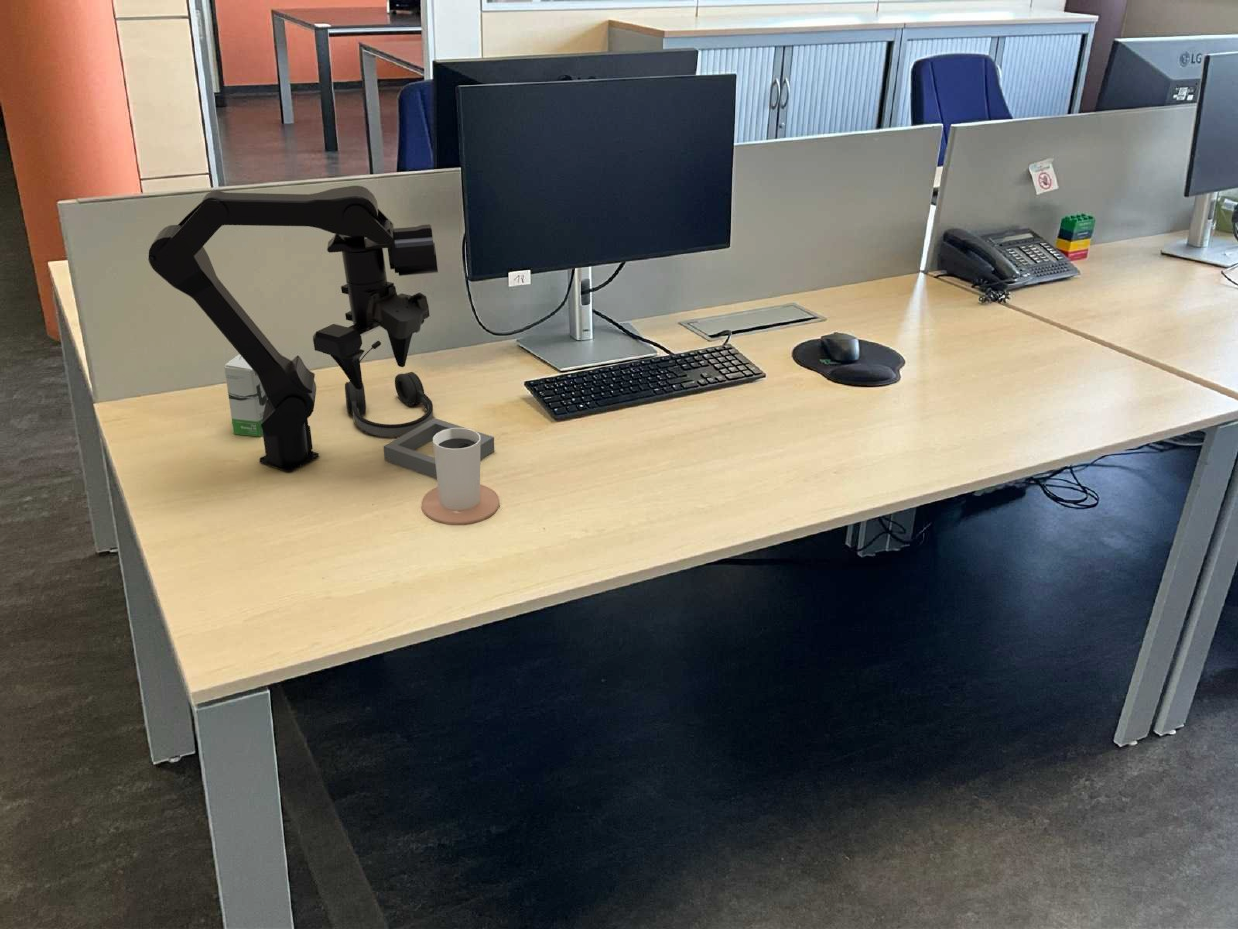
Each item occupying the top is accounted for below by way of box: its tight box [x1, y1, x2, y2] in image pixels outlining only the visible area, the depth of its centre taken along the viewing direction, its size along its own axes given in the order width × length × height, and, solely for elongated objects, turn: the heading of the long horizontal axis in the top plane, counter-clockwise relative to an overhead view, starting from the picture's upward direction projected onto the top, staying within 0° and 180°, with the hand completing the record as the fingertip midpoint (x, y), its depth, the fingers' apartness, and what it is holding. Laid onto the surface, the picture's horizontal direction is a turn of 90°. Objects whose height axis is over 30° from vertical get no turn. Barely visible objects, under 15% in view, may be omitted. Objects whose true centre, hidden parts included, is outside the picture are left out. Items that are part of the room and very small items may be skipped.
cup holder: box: [383, 417, 495, 480], centre depth 168 cm, size 12×12×2 cm
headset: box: [344, 340, 434, 439], centre depth 180 cm, size 13×9×19 cm
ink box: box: [224, 353, 267, 437], centre depth 174 cm, size 9×5×12 cm, turn 168°
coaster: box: [421, 483, 500, 526], centre depth 156 cm, size 11×11×1 cm
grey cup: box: [432, 427, 481, 511], centre depth 153 cm, size 7×7×10 cm
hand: (380, 377), depth 163 cm, fingers open, 9 cm apart
